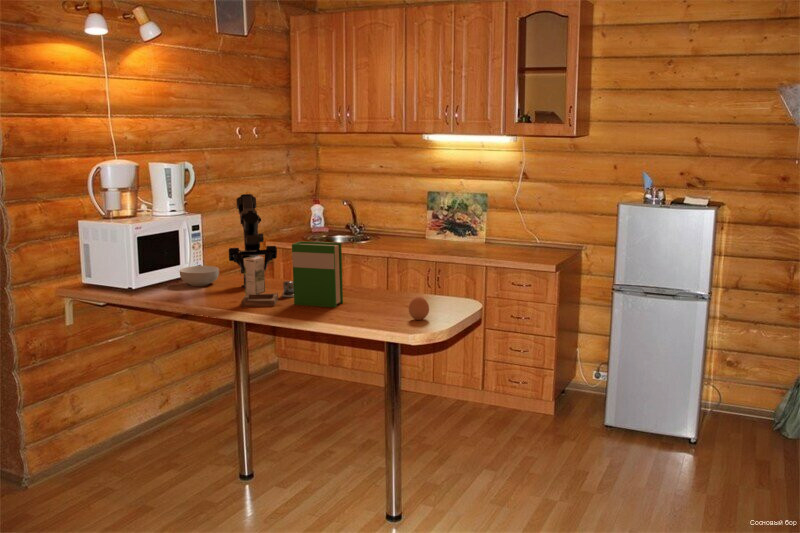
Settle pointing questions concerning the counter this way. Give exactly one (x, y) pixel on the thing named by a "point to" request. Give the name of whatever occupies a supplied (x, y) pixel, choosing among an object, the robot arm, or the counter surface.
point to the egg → (418, 308)
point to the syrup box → (254, 275)
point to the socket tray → (259, 300)
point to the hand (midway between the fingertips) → (254, 270)
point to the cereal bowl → (199, 275)
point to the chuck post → (288, 289)
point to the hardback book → (317, 273)
